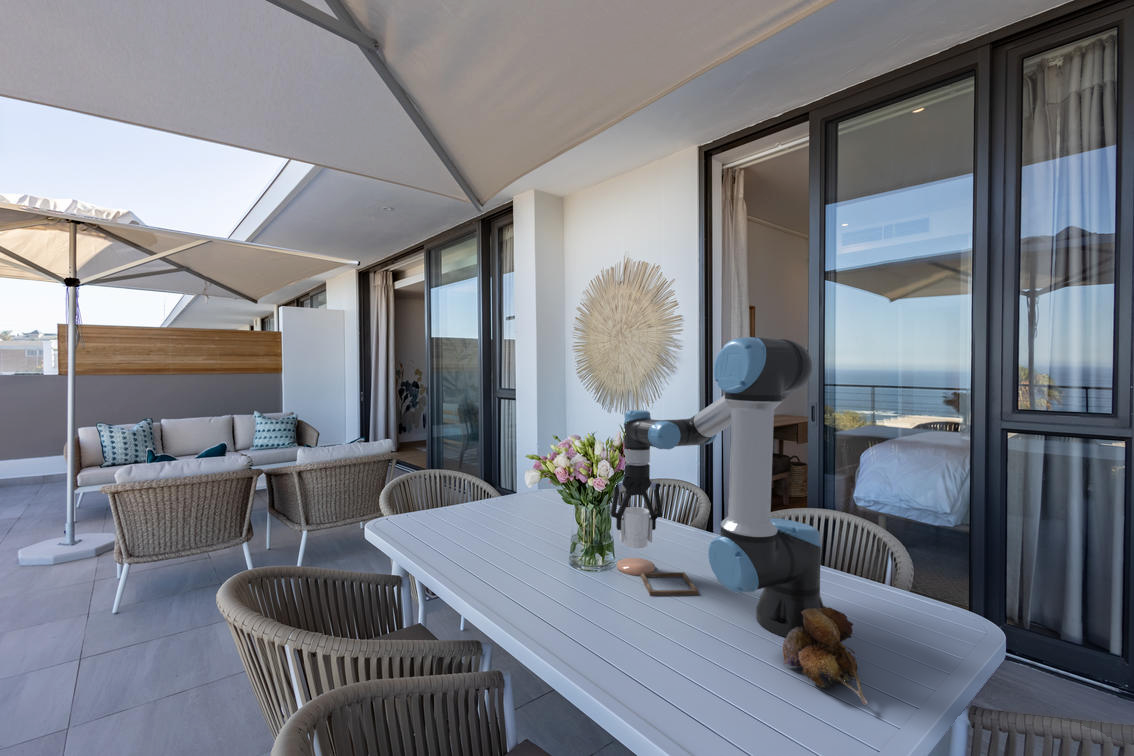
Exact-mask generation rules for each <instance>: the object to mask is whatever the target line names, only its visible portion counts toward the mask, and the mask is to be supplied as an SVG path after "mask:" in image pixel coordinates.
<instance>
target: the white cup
mask: <svg viewBox="0 0 1134 756" xmlns="http://www.w3.org/2000/svg"><path fill="white" fill-rule="evenodd" d="M622 517H623V519H624V542H623V544H624V545H625V546H626V547H628V548H632V549H643V548H646V547H647V546H648V543H649V541H648V531H649V517H650V512H649V510H648V508H645V507H638V506H631V507H626V509H625V511H624V513H623V516H622Z"/></svg>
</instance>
